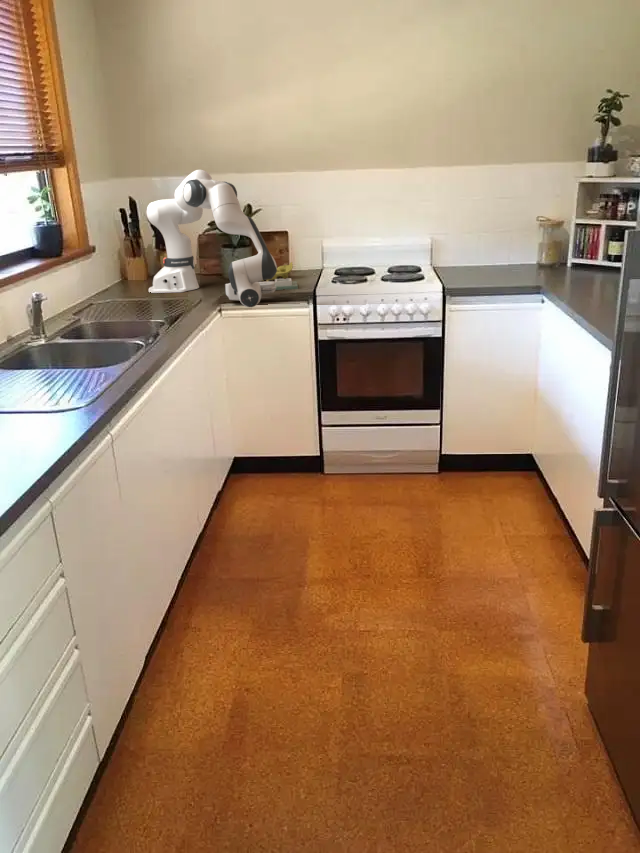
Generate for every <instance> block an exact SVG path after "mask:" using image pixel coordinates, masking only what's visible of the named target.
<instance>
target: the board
mask: <svg viewBox="0 0 640 853" xmlns="http://www.w3.org/2000/svg"><path fill="white" fill-rule="evenodd" d="M267 281H269V280H266V282H267ZM274 282H275V287H276V290H275V291H278V290H279V291H280V290H281V291H283V289H285V290H298V289H299V285H298V282H297V281H296V280H295V281H292V278H290V277H288V278H286V279H283V278H277V279H275V280H274Z"/></svg>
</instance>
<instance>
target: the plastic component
mask: <svg viewBox="0 0 640 853" xmlns="http://www.w3.org/2000/svg"><path fill="white" fill-rule="evenodd" d="M293 266H294V265H293V261H291V262H289V264H284V265H280V266H277V272H276V274H275V275H274V277H273V278H272V279H268V281H273V280H274V281H275V279H278V278H279V277H280V279H284V278H286V279H287V278H289V275H288V274H290V273H291V272H292V270H293ZM260 282H265V281H264V280H261V281H260Z"/></svg>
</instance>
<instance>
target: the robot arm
mask: <svg viewBox="0 0 640 853" xmlns="http://www.w3.org/2000/svg"><path fill="white" fill-rule="evenodd" d="M204 209H207V210H211V212H212V216H213V219H214V222H215V224H216V227H217V228H218V229H219V230H220V231H222V232H223V233H225V234H228V235H237V236H238V235H239V236H246V237H248V238H250V239H251V241H252V244H253V245H254V247H255V249H256V251H257V252H258V253H257V254H255V255H253V256H248V257H246V258H245V257H244V258H240V259H238V260H235V261H231V263H229V266H228V270H227V274H228V275H227V276H228V280H229V283H225V284H224V286H225V295H226V296H227V297H228V299H229V300H230V301H240V303H241V305H243V306H244V307H246V308H253V307H257V305H258V304H259V303H260V302H261V299H262V294H272V293H275V291H277V290H276V287H275V280H274V281H273V280H268V279H272V278H273V277H274V275H275V274H276V272H277V268H278V265H277V262H276V260H275V258H274V257H273V255H272V254H271V252H270V251H269V249H268V247H267V244H266V242H265V240H264V238H263V236H262V234H261V232H260V230H259V229H258V226H257V224H256V222H255V221H254V220H253V218H252V217H251V216H247V215H246V214H245V213H244V212H243V211H242V208H241V205H240V203H239V199H238V191H237V189H236V186H235V185H234V184H232V183H230V182H227V181H221V180H215V179H214V180H213V179H212V176H211V175H210V173H209V172H208V171H206V170H203V169H196V170H193V171H192V172H191V173H189V174H188V175H187V176H186V177H184V178H183V180H182V182H180V184H179V185H178V186H177V187H176V188H175V190H174V198H166V199H165V198H164V199H159V200H155V201H152V202H149V204H148V205H147V208H146V217H147V220H148V221H149V223H150V224H151V225H153V226H154V227H155V228H157V230H159V232H160V233H161V235H162V237H163V240H164V244H165V250H166V257H163V259H162V264H163V267H162V268H161V269H160V270H159V271H158V272H157V273H156V274H155V275H154V276H153V279H152V286H150V287H149V288H148V292H149V293H150V292H151V294H157V293H158V294H159V293H160V294H161V293H162V294H163V293H165V294H166V293H184V292H187V291H188V292H189V291H194V290H197V289H199V288H200V285H199V283H198V279H197V276H196V272H195V267H196V266H195V258H194V255H193V249H192V240H191V238H190V237H189V236H188V235H187V234H186V233H183V232H182V231H181V230H180V228H179V226H180V225H186V224H187V225H188V224H192V223H194V222H197V221H200V220H201V218H202V216H203V210H204ZM261 280H266V281H261ZM267 280H268V281H267Z"/></svg>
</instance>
